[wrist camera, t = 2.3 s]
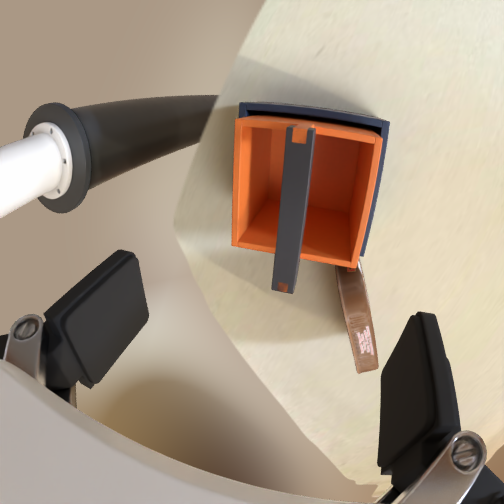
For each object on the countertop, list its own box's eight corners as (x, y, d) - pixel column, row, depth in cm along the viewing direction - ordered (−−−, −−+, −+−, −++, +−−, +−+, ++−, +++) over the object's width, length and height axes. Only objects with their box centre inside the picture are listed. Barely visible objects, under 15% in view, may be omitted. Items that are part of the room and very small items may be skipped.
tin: (333, 245, 32) (329, 289, 25) (360, 239, 31) (364, 282, 24) (356, 339, 38) (355, 387, 31) (378, 336, 37) (380, 384, 30)
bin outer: (255, 207, 33) (234, 233, 27) (260, 101, 27) (239, 102, 21) (359, 225, 30) (363, 257, 24) (377, 117, 24) (390, 121, 19)
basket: (263, 202, 32) (210, 277, 19) (269, 111, 27) (209, 121, 14) (352, 217, 30) (356, 306, 17) (367, 124, 25) (395, 145, 12)
